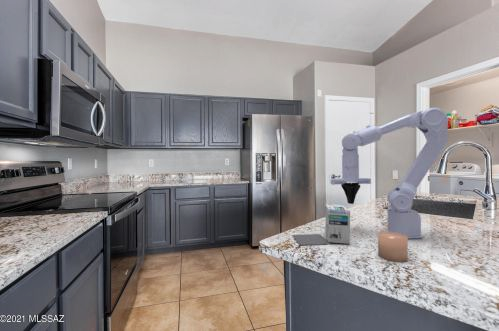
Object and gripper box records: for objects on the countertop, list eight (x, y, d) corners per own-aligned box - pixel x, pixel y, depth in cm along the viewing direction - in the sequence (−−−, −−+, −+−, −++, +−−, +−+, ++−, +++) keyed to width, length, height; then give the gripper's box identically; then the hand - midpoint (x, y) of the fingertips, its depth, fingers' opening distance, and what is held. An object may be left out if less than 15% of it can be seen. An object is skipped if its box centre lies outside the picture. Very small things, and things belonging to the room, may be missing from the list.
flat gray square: (319, 234, 87) (319, 233, 87) (330, 244, 77) (330, 243, 77) (292, 235, 86) (292, 234, 86) (299, 245, 76) (299, 244, 76)
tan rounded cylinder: (396, 251, 70) (396, 231, 70) (414, 261, 63) (414, 238, 63) (373, 252, 70) (372, 231, 70) (388, 262, 63) (388, 239, 63)
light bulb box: (350, 244, 76) (351, 210, 76) (327, 242, 77) (328, 209, 77) (343, 234, 87) (344, 204, 86) (324, 233, 88) (325, 203, 88)
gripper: (363, 166, 94) (363, 201, 95) (327, 167, 94) (327, 202, 94) (373, 166, 87) (374, 204, 88) (334, 167, 86) (335, 205, 87)
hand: (350, 203), depth 90 cm, fingers closed
